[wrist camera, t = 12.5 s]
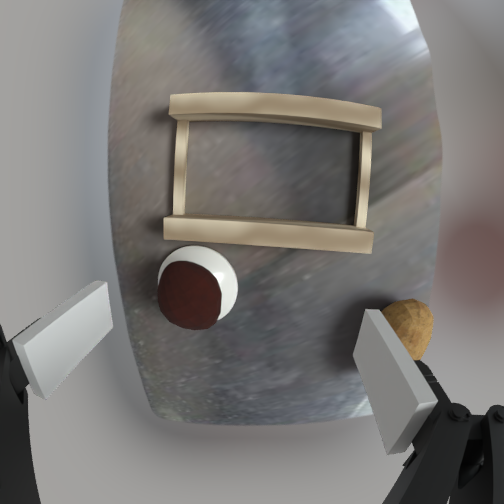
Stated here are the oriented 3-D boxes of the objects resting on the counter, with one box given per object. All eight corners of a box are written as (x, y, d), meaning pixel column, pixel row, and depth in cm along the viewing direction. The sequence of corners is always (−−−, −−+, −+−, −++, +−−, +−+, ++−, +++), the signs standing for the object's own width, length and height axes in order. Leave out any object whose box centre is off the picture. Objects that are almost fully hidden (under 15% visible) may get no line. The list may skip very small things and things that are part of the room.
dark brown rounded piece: (206, 241, 35) (189, 257, 28) (240, 303, 37) (232, 332, 30) (155, 267, 37) (130, 287, 29) (189, 324, 39) (173, 354, 31)
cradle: (182, 104, 32) (170, 94, 28) (369, 116, 31) (381, 108, 27) (175, 232, 36) (163, 239, 32) (359, 245, 35) (371, 253, 31)
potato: (345, 366, 40) (357, 400, 32) (372, 282, 36) (394, 306, 28) (398, 368, 39) (415, 398, 32) (427, 290, 36) (454, 312, 28)
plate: (158, 242, 37) (156, 243, 36) (239, 247, 36) (239, 249, 35) (162, 316, 39) (160, 318, 39) (236, 324, 39) (235, 327, 38)
